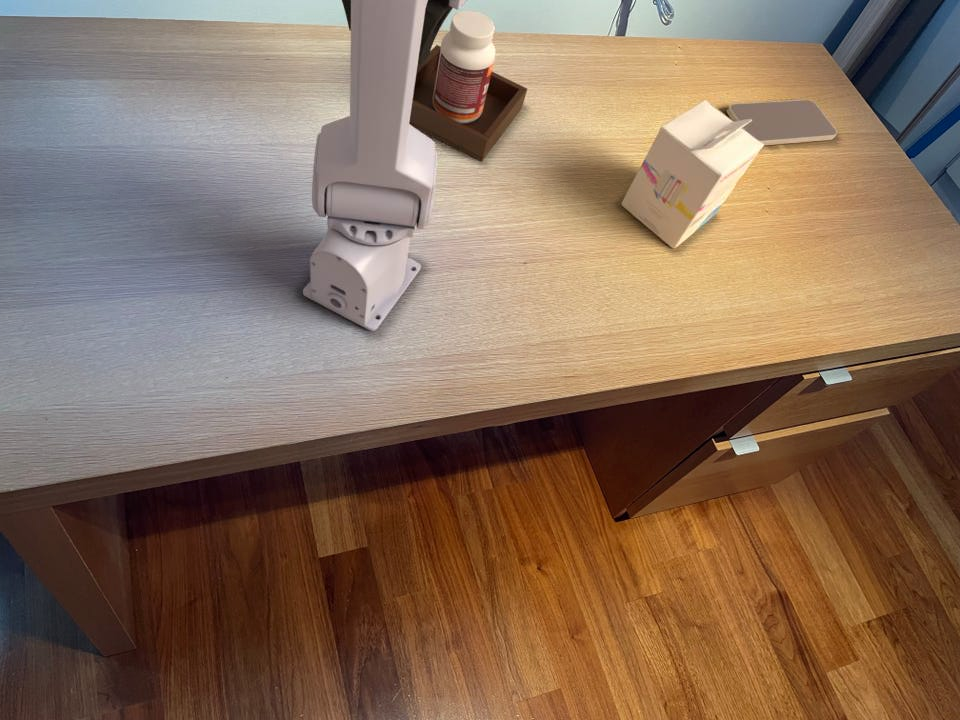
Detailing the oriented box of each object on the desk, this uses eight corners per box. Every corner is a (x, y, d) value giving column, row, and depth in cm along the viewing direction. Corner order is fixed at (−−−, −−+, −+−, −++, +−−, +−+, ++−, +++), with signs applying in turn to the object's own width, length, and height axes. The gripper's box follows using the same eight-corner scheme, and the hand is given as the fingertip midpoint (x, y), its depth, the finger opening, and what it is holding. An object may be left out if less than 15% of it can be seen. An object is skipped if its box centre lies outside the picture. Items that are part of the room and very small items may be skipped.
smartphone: (840, 135, 94) (753, 142, 89) (836, 140, 94) (749, 147, 90) (812, 98, 97) (726, 103, 92) (808, 104, 98) (723, 109, 93)
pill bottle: (487, 125, 81) (507, 43, 72) (437, 126, 80) (451, 41, 71) (475, 91, 84) (494, 7, 75) (427, 90, 83) (439, 4, 73)
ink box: (660, 175, 84) (712, 82, 72) (713, 218, 81) (775, 129, 70) (618, 205, 80) (666, 111, 68) (673, 251, 77) (732, 162, 66)
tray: (481, 161, 79) (487, 141, 76) (387, 114, 80) (389, 93, 77) (521, 108, 85) (527, 88, 83) (433, 65, 86) (436, 44, 84)
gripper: (494, -82, 60) (468, 53, 72) (352, -148, 62) (348, -4, 73) (459, -50, 57) (436, 88, 68) (308, -121, 58) (311, 26, 69)
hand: (388, 42), depth 70 cm, fingers open, 7 cm apart
